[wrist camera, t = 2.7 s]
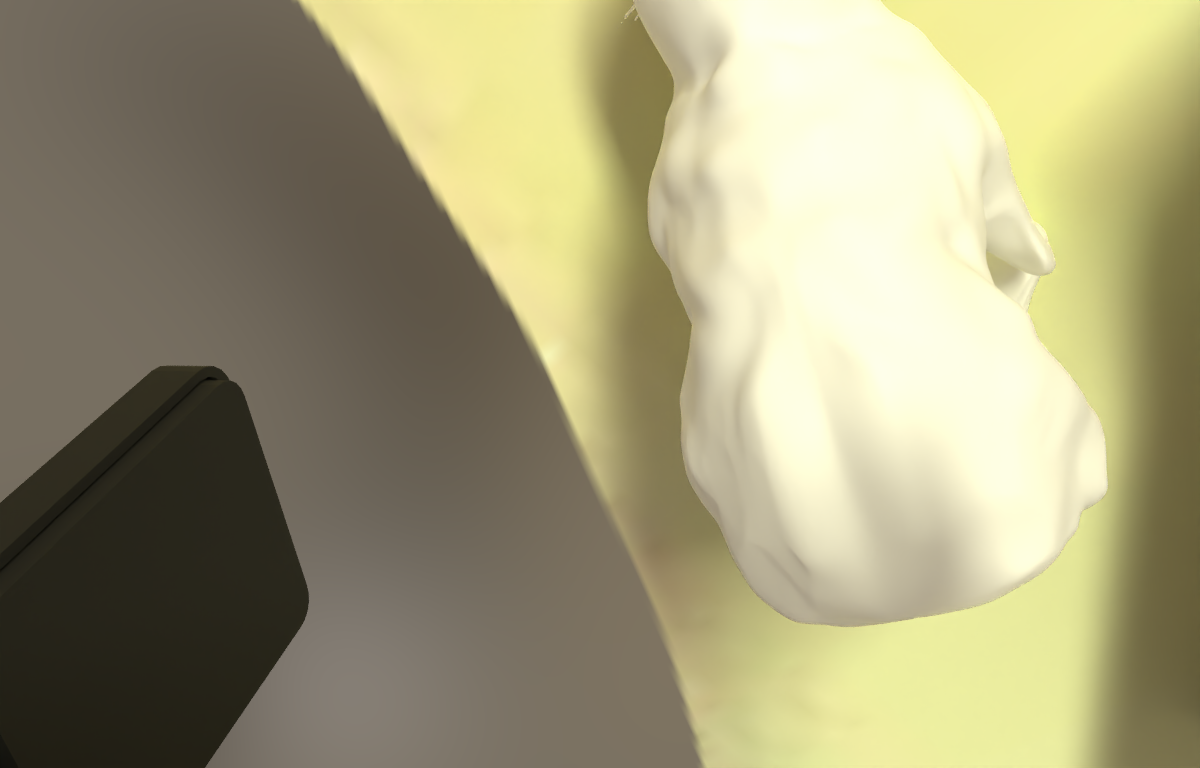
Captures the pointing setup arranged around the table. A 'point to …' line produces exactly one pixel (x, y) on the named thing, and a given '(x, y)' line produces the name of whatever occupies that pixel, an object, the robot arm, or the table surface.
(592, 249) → the table surface
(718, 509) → the white animal figurine
